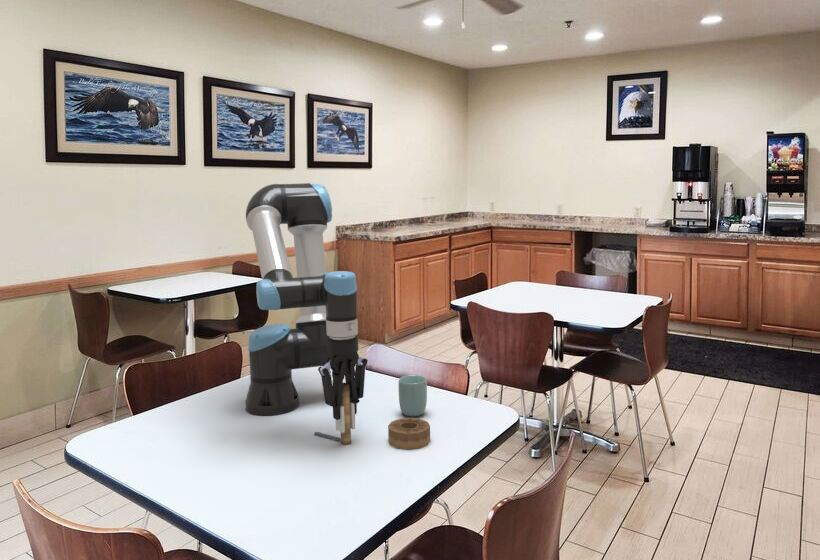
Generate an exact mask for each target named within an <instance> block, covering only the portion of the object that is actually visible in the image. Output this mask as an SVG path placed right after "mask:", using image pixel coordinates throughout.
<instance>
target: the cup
mask: <svg viewBox="0 0 820 560" xmlns="http://www.w3.org/2000/svg"><path fill="white" fill-rule="evenodd" d="M427 380H428V379H427V378H426V377H425V376H423V375H418V374H416V375H415V374H410V375H403V376H401V377H399V378H398V386H397V387H398V402H399V409H400V411H401V412H402V414H403V415H404V416H407V417H410V418H416V417H420V416H421V415H422V414H424V412H425V410H426V408H427V404H428V403H427V402H428V400H427V399H428V381H427Z"/></svg>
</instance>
